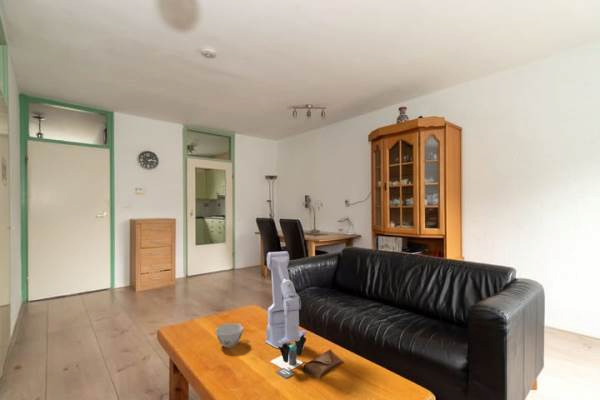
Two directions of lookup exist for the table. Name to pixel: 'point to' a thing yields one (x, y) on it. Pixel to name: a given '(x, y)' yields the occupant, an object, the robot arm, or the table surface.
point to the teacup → (229, 334)
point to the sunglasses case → (322, 364)
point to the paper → (282, 364)
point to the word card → (284, 373)
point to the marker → (292, 354)
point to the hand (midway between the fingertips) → (292, 358)
